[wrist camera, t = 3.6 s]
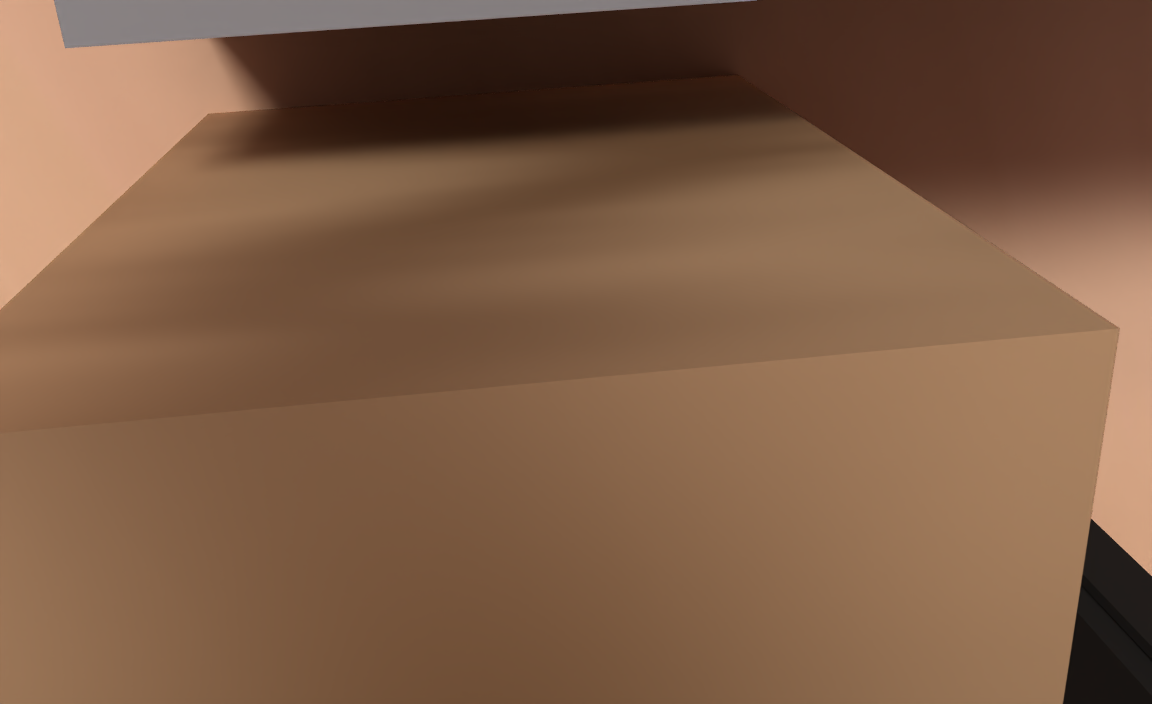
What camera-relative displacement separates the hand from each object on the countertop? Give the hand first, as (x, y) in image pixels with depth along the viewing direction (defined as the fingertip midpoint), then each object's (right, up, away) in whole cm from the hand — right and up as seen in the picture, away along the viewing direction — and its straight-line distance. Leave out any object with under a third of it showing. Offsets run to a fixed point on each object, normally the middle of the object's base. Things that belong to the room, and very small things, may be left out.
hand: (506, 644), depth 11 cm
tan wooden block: (0, +2, +3) cm, 4 cm away
